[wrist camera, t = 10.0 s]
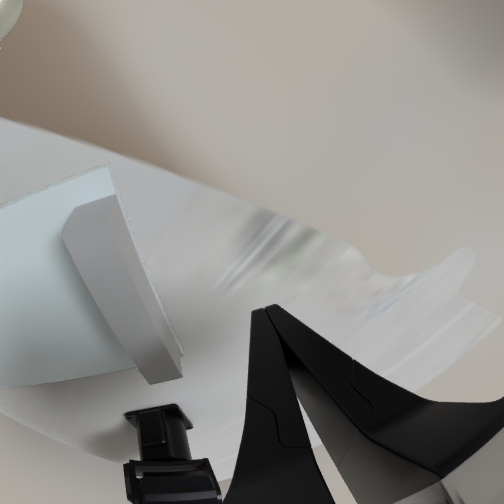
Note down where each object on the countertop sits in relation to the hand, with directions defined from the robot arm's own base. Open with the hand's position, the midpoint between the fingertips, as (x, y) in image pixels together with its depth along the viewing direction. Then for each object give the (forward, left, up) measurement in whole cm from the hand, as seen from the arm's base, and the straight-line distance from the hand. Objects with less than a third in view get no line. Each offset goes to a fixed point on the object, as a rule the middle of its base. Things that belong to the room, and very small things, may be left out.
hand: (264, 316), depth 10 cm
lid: (0, +11, -4) cm, 12 cm away
